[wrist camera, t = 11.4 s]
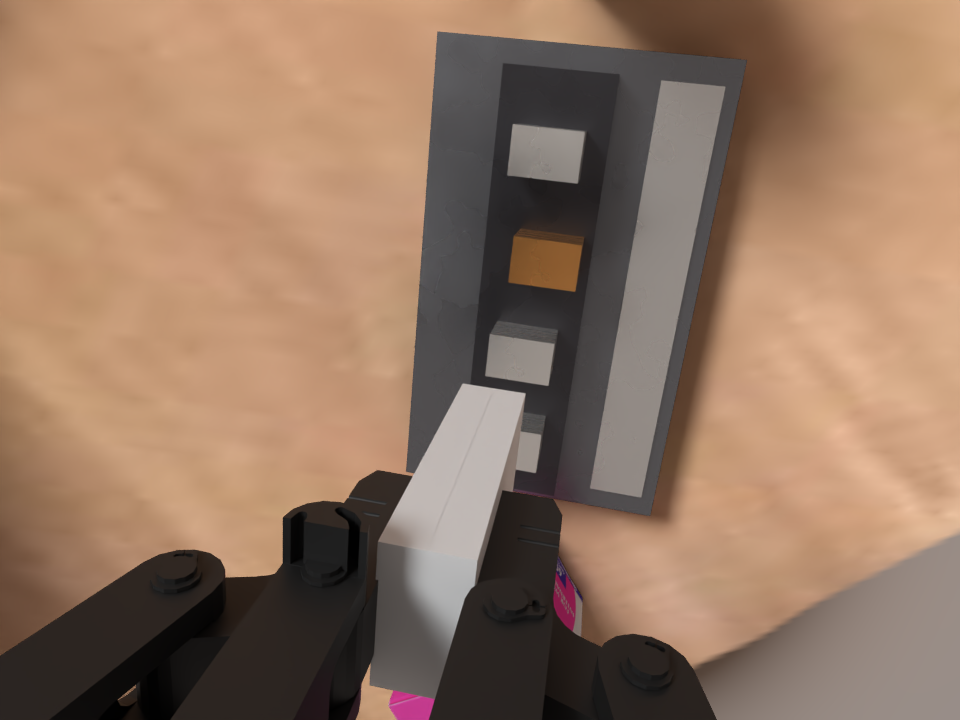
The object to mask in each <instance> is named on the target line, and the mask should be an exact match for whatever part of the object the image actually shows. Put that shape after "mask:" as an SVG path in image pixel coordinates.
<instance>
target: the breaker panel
mask: <svg viewBox="0 0 960 720" xmlns="http://www.w3.org/2000/svg"><path fill="white" fill-rule="evenodd" d="M746 63H747V60H741V59H730V58H719V57H708V56H697V55H686V54H676V53H665V52H654V51H643V50H632V49H621V48H610V47H599V46H589V45H578V44H567V43H556V42H545V41H534V40H523V39H512V38H502V37H491V36H480V35H469V34H458V33H447V32H437V46H436V60H435V74H434V88H433V102H432V117H431V131H430V145H429V159H428V173H427V187H426V201H425V215H424V229H423V243H422V257H421V271H420V285H419V299H418V313H417V327H416V341H415V355H414V369H413V383H412V398H411V412H410V426H409V440H408V454H407V468H406V472H411V473H415V471H416V470H417V468H418V466H419V464H420V462H421V460H422V458H423V457H424V455H425V453H426V451H427V449H428V447H429V445H430V444H431V442H432V440H433V438H434V436H435V434H436V432H437V430H438V429H439V427H440V425H441V423H442V421H443V419H444V417H445V416H446V414H447V412H448V410H449V408H450V406H451V404H452V403H453V401H454V399H455V397H456V395H457V393H458V391H459V390H460V388H461V386H462V384H469V385H475V386H481V387H488V388H494V389H501V390H507V391H513V392H520V393H526V395H525V403H524V410H523V418H522V425H521V433H520V441H519V448H518V456H517V463H516V471H515V478H514V486H513V491H515V492H521V493H526V494H532V495H537V496H543V497H548V498H554V499H559V500H565V501H570V502H576V503H581V504H587V505H592V506H598V507H603V508H609V509H614V510H620V511H625V512H631V513H636V514H642V515H647V516H650V514H651V510H652V505H653V500H654V495H655V491H656V486H657V481H658V477H659V472H660V467H661V462H662V458H663V453H664V448H665V444H666V439H667V434H668V430H669V425H670V420H671V415H672V411H673V406H674V401H675V397H676V392H677V387H678V383H679V378H680V373H681V368H682V364H683V359H684V354H685V350H686V345H687V340H688V335H689V331H690V326H691V321H692V317H693V312H694V307H695V303H696V298H697V293H698V288H699V284H700V279H701V274H702V270H703V265H704V260H705V256H706V251H707V246H708V241H709V237H710V232H711V227H712V223H713V218H714V213H715V208H716V204H717V199H718V194H719V190H720V185H721V180H722V176H723V171H724V166H725V161H726V157H727V152H728V147H729V143H730V138H731V133H732V128H733V124H734V119H735V114H736V110H737V105H738V100H739V96H740V91H741V86H742V81H743V77H744V72H745V67H746Z"/></svg>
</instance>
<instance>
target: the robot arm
mask: <svg viewBox="0 0 960 720" xmlns="http://www.w3.org/2000/svg"><path fill="white" fill-rule="evenodd" d="M525 395H526V393H520V392H513V391H507V390H501V389H494V388H488V387H481V386H475V385H469V384H462V386H461V388H460V390H459V391H458V393H457V395H456V397H455V399H454V401H453V403H452V404H451V406H450V408H449V410H448V412H447V414H446V416H445V417H444V419H443V421H442V423H441V425H440V427H439V429H438V430H437V432H436V434H435V436H434V438H433V440H432V442H431V444H430V445H429V447H428V449H427V451H426V453H425V455H424V457H423V458H422V460H421V462H420V464H419V466H418V468H417V470H416V471H415V473H414V475H413V476H408V475H402V474H397V473H391V472H385V471H379V470H377V471H375V472H374V473H372V474H370V475H368V476H367V477H365V478H363V479H362V480H360V481H359V482H358V483H357V485H356V486H355V488H354V489H353V491H352V492H351V494H350V495H349V498H347V500H346V501H345V502H344V503H341V502H330V501H321V502H314V503H307V504H305V505H302V506H300V507H297V508H295V509H293V510H291V511H290V512H289V513H288V514H286V515H285V516H284V517H283V564H282V565H281V567H280V568H279V569H278V571H277V572H276V573H275V574H272V575H267V576H257V577H230V578H225V568H224V566H223V564H222V562H221V560H220V559H218V558H217V557H215V556H214V555H212V554H211V553H207V552H203V551H198V550H176V551H172V552H168V553H164V554H160V555H157V556H155V557H153V558H151V559H149V560H147V561H145V562H143V563H142V564H140V565H139V566H137V567H135V568H134V569H132V570H131V571H129V572H128V573H126V574H125V575H123V576H122V577H120V578H119V579H117V580H116V581H114V582H113V583H111V584H109V585H108V586H106V587H105V588H103V589H102V590H100V591H99V592H97V593H96V594H94V595H93V596H91V597H90V598H88V599H87V600H85V601H83V602H82V603H80V604H79V605H77V606H76V607H74V608H73V609H71V610H70V611H68V612H67V613H65V614H64V615H62V616H61V617H59V618H57V619H56V620H54V621H53V622H51V623H50V624H48V625H47V626H45V627H44V628H42V629H41V630H39V631H38V632H36V633H34V634H33V635H31V636H30V637H28V638H27V639H25V640H24V641H22V642H21V643H19V644H18V645H16V646H15V647H13V648H12V649H10V650H8V651H7V652H5V653H4V654H2V655H1V656H0V720H356V717H357V715H358V712H359V707H360V700H361V683H362V681H363V679H364V676H365V674H366V672H367V669H368V667H369V665H370V663H371V668H370V685H371V686H376V687H380V688H385V689H390V690H394V691H399V692H404V693H408V694H413V695H418V696H422V697H427V698H431V699H435V700H434V704H433V707H432V710H431V714H430V717H429V720H717V719H716V717H715V715H714V713H713V710H712V708H711V706H710V704H709V702H708V700H707V698H706V695H705V693H704V691H703V689H702V687H701V685H700V682H699V680H698V678H697V676H696V674H695V672H694V670H693V668H692V667H691V666H690V664H689V663H688V661H687V660H686V658H685V657H684V656H683V655H682V654H680V653H679V652H678V651H676V650H675V649H674V648H673V647H671V646H670V645H668V644H666V643H664V642H661V641H659V640H657V639H655V638H652V637H648V636H642V635H636V634H629V635H621V636H616V637H614V638H612V639H611V640H609V641H607V642H605V643H604V645H603V646H602V647H600V646H598V645H596V644H594V643H592V642H589V641H587V640H586V639H584V638H582V637H580V636H578V635H577V634H575V633H574V632H573V631H571V630H570V629H569V628H568V627H567V626H565V624H564V623H563V622H562V621H561V619H560V618H559V617H558V615H557V613H556V610H555V608H554V600H553V597H554V588H555V578H556V569H557V560H558V551H559V541H560V532H561V523H562V514H561V512H560V510H559V508H558V507H557V505H556V503H555V501H554V500H553V499H550V498H544V497H538V496H533V495H527V494H521V493H516V492H513V486H514V478H515V471H516V463H517V456H518V448H519V441H520V433H521V425H522V418H523V410H524V403H525ZM135 685H136V688H135V689H134V690H133V691H132V692H130V693H129V694H128V695H126V696H125V697H123V698H121V699H120V700H118V699H119V698H120V697H121V696H122V695H124V694H125V693H126V692H127V691H128V690H130V689H131V688H132V687H133V686H135Z"/></svg>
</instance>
